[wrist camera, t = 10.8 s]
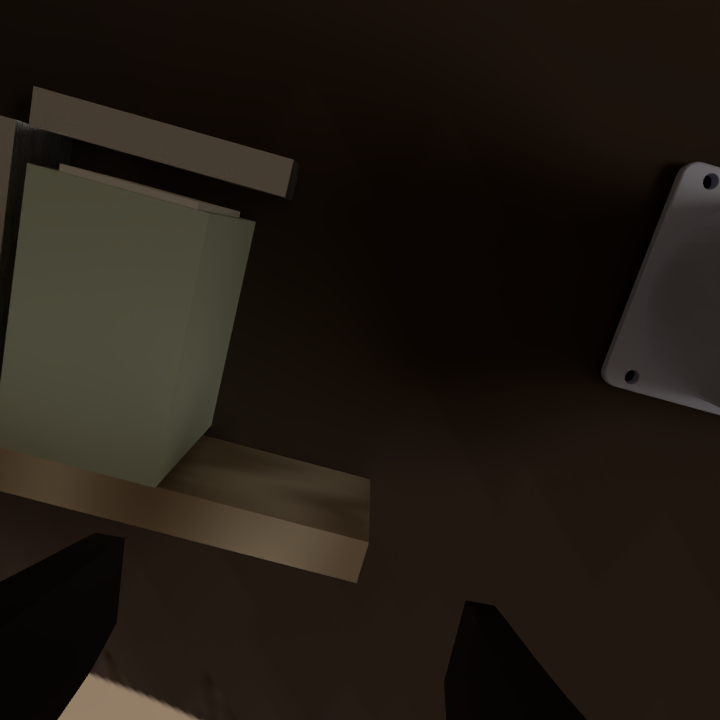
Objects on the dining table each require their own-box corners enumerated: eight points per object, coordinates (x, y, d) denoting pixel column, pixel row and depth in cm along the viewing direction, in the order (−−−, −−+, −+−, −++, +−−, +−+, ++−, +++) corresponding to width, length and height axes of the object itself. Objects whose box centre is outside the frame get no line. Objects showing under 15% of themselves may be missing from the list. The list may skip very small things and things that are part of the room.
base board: (370, 479, 21) (368, 542, 16) (360, 512, 21) (356, 582, 17) (23, 387, 20) (-74, 426, 16) (18, 422, 21) (-78, 470, 16)
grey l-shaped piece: (300, 166, 18) (285, 151, 15) (235, 443, 21) (212, 476, 18) (61, 98, 18) (0, 70, 15) (23, 387, 20) (-37, 411, 17)
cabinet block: (257, 216, 19) (211, 205, 14) (211, 424, 21) (154, 487, 15) (127, 180, 19) (27, 154, 13) (92, 392, 21) (-8, 445, 15)
